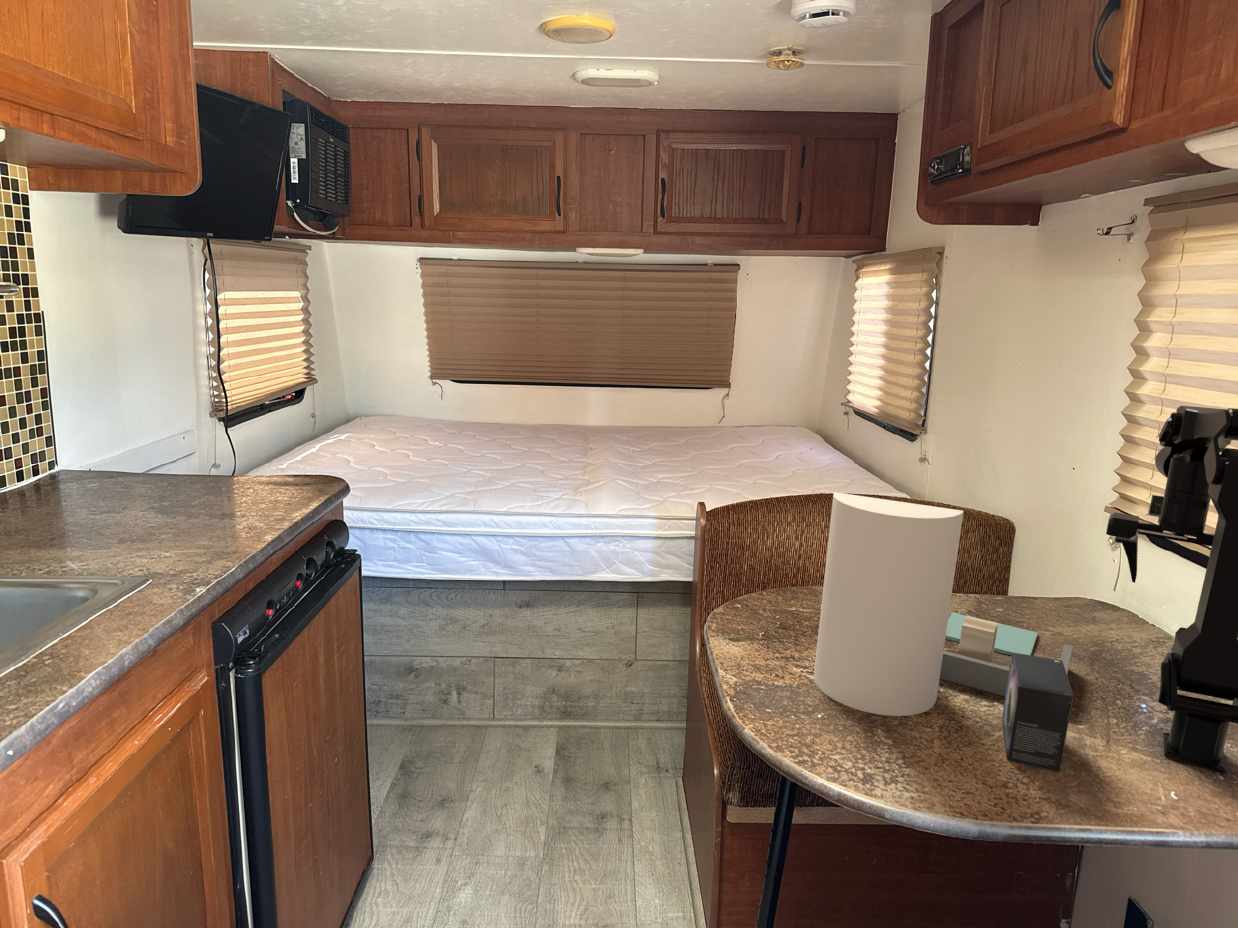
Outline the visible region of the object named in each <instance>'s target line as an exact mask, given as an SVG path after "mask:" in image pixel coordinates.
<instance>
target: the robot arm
mask: <svg viewBox="0 0 1238 928" xmlns="http://www.w3.org/2000/svg"><path fill="white" fill-rule="evenodd" d="M1175 411H1176V412H1175ZM1175 411H1174V412H1173V411H1172V413H1170V416H1169V418H1168V417H1167V419H1166V420H1165V422H1164V424H1163V427H1162V428H1161V430H1160V432H1159V433H1158V442H1159V446H1160V447H1162V448H1161V449H1160V450H1159V451H1158V452H1157V454H1156V455H1155V458H1154V464H1155V467H1156V469H1157V471H1158V472H1159V473H1160V474H1161V475H1162V476H1164V477H1165V478H1166V484H1165V488H1164V489H1165V490H1164V494H1163V495H1162V496H1161V495H1156V494H1151V499H1150V505H1149V510H1148V516H1151V517H1156V518H1157V519H1158V520H1157V524H1153V523H1146V522H1141V521H1139V520H1140V516H1139V515H1134V514H1129V513H1122V512H1116V511H1115V512H1113V513H1111V514H1109V518H1108V521H1107V522H1108V523H1107V527H1106V533H1105V534H1106V535H1108V536H1110V537H1114V542H1116V543H1119V544H1122V547H1123V550H1124V553H1125V556H1126V557H1127V558H1126V559H1127V562H1128V567H1129V572H1130V577H1131V578H1130V579H1131V582H1132V583H1135V584H1136V581H1137V575H1138V550H1139V549H1138V546H1139V535H1143V536H1147V537H1148V536H1149V537H1155V538H1158V539H1159V538H1160V539H1166V540H1171V541H1178V542H1184V543H1189V544H1195V545H1200V546H1207V547H1211V548H1210V552H1209V557H1208V561H1207V566H1206V570H1205V575H1204V579H1203V584H1202V586H1201V592H1200V596H1199V600H1198V605H1197V609H1196V614H1195V618H1194V621H1193V623H1192V624H1190V625H1188V626H1187V627H1179V628H1178V630H1176V631H1175V634H1174V639H1173V640H1174V641H1173V644H1172V648H1171V651H1170V652H1167V653H1166V655H1165V658H1164V659H1163V661H1161V663H1160V677H1159V678H1160V681H1159V682H1160V684H1159V685H1160V686H1159V687H1160V688H1159V694H1158V699H1157V702H1158V703H1159V704H1161V705H1162V706H1164V707H1166V708H1167V710H1168V711H1170V712H1173V717H1172V720H1171V721H1172V722H1171V724H1170V725H1171V726H1170V729H1169V730H1170V731H1169V732H1167V731H1166V732H1163V734H1162V745H1163V755H1164V757H1167V758H1170V759H1172V760H1176V761H1180V762H1184V763H1187V764H1190V765H1194V766H1197V767H1200V768H1204V769H1208V770H1211V771H1215V772H1218V773H1221V774H1227V772H1228V767H1227V766H1228V765H1227V762H1226V756H1225V752H1224V749H1225V746H1226V740H1227V738H1228V737H1227V736H1228V733H1229V727H1230V723H1232V724H1236V725H1238V448H1230V447H1228V446H1230V444H1231V443H1232V441H1237V442H1238V408H1235V407H1234V408H1233V407H1228V408H1227V409H1225V408H1217V407H1216V408H1213V407H1202V406H1193V405H1192V406H1191V405H1190V406H1189V405H1180V406H1178V407H1177V408H1176V409H1175ZM1211 502H1212V504H1213V506H1214V508H1215V510H1216V512H1217V516H1218V517H1217V521H1216V526H1215V531H1214V533H1209V532H1205V527H1206V523H1207V519H1208V513H1209V508H1210V503H1211ZM1169 532H1170V533H1169ZM1178 691H1180V692H1185V693H1190V694H1195V695H1200V696H1206V697H1212V698H1215V699H1222V700H1226V701H1231V702H1232V704H1230V703H1226V702H1225V703H1224V702H1221V701H1215V700H1210V699H1204V698H1202V697H1201V698H1200V697H1195V696H1189V695H1185V694H1180V693H1178Z"/></svg>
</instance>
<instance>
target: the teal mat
mask: <svg viewBox="0 0 1238 928" xmlns="http://www.w3.org/2000/svg"><path fill="white" fill-rule="evenodd" d="M967 616H969V617H971V616H970V615H966V614H961V613H957V612H954V611H953V612H952V613H950V614H949V617H948V624H947V630H946V637H945V640H949V641H952V642H956V643H960V637H961V630H962V625H963V623H964V621H965V620H966V618H967ZM977 618H978V617H977ZM978 619H980V618H978ZM981 619H982V618H981ZM982 620H984V619H982ZM985 620H986V619H985ZM986 621H988V620H986ZM989 621H990V620H989ZM990 622H992V620H991V621H990ZM997 623H998V628H997V634H996V641H995V647H994V652H996V653H1001V654H1003V655H1004V654H1005V655H1007V656H1011V657H1012V653H1019V654H1025V655H1031V656H1032V654H1033V650H1034V646H1035V644H1036V641H1037V638H1038V634H1039V633H1038V631H1037V632H1036V631H1032V630H1029V629H1024V628H1021V627H1016V626H1012V625H1008V624H1004V623H999V622H997Z"/></svg>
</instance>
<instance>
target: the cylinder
mask: <svg viewBox="0 0 1238 928" xmlns="http://www.w3.org/2000/svg"><path fill="white" fill-rule="evenodd" d="M831 505H832V506H831V512H830V514H831V515H830V523H829V533H828V543H827V550H826V562H825V569H824V570H825V571H824V577H823V578H824V579H823V586H822V587H823V588H822V597H821V607H820V615H819V625H818V636H817V641H816V642H817V644H816V653H815V662H814V670H813V680H814V683H815V685H816V687H817V688H818V689H819V690H820V691H821V692H822V693H823V694H825V695H826V696H828V697H829V698H830V699H832V700H833V701H835V702H837V703H839V704H842V705H844V706H846V707H849V708H851V709H854V710H855V709H856V710H858V711H862V712H865V713H870V714H875V715H881V716H892V717H904V716H905V717H907V716H914V715H915V716H916V715H918V714H922V713H925V712H927V711H929V710H930V709H932V708H933V707H934V706H935V704H936V703H937V698H938V693H939V685H940V680H941V678H940V672H941V665H942V658H943V651H945V643H946V639H945V637H946V630H947V624H948V619H949V617H950V607H951V604H952V602H951V601H952V595H953V594H952V593H953V587H954V581H955V573H956V567H957V560H958V553H959V546H960V539H961V534H962V533H961V532H962V524H963V518H964V510H962V509H961V510H960V509H953V508H947V507H940V506H934V505H925V504H920V503H919V504H918V503H913V502H906V501H898V500H892V499H885V498H878V497H871V496H864V495H857V494H856V495H855V494H850V493H844V492H835V491H834V492H833V497H832V504H831Z"/></svg>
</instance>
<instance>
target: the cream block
mask: <svg viewBox="0 0 1238 928" xmlns="http://www.w3.org/2000/svg"><path fill="white" fill-rule="evenodd" d="M966 616H967V618H966V620H965V621H964V623H963V625H962V630H961V637H960V642H959V645H958V652H957V654H959V655H963V656H966V657H970V658H974V659H978V660H982V661H986V662H989V663H993V659H994V658H993V657H994V652H995V651H994V647H995V641H996V634H997V628H998V623H999V622H995V621H991V622H990V620H987V621H986V619H983V620H982V618H979V619H978V617H973V616H970V615H966ZM969 616H970V617H969Z"/></svg>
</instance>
